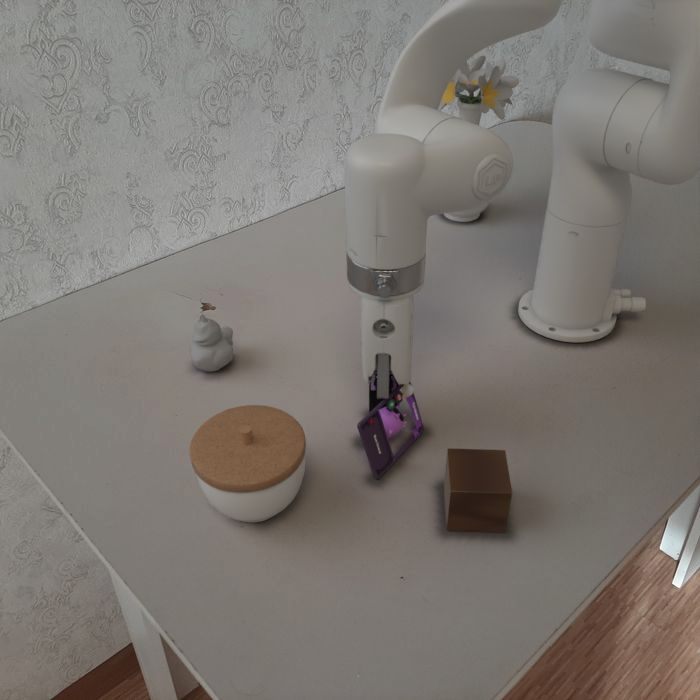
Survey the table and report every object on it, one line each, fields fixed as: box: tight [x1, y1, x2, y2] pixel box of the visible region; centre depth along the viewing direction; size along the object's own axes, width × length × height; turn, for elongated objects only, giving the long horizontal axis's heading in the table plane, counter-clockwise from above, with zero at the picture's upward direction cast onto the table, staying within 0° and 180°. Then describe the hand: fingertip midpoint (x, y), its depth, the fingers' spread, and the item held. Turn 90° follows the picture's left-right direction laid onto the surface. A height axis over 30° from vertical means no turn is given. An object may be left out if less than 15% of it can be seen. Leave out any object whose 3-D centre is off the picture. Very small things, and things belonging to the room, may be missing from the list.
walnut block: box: [443, 447, 513, 534], centre depth 68 cm, size 6×6×6 cm
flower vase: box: [438, 55, 520, 223], centre depth 114 cm, size 13×18×25 cm
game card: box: [356, 381, 425, 480], centre depth 75 cm, size 7×5×9 cm
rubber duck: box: [189, 313, 234, 372], centre depth 86 cm, size 5×7×8 cm
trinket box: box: [189, 404, 307, 524], centre depth 68 cm, size 11×11×9 cm
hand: (383, 409), depth 80 cm, fingers closed
